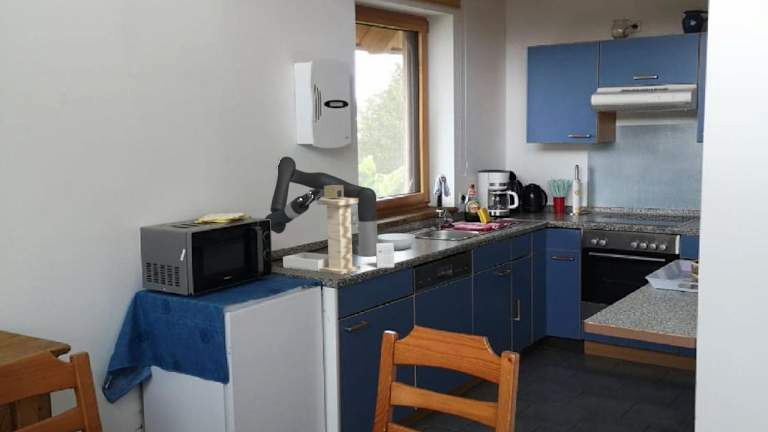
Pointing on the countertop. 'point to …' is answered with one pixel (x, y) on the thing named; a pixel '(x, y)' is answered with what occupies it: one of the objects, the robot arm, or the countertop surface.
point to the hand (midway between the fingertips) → (320, 189)
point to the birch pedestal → (339, 235)
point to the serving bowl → (397, 240)
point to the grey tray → (306, 261)
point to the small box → (385, 255)
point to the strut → (330, 191)
